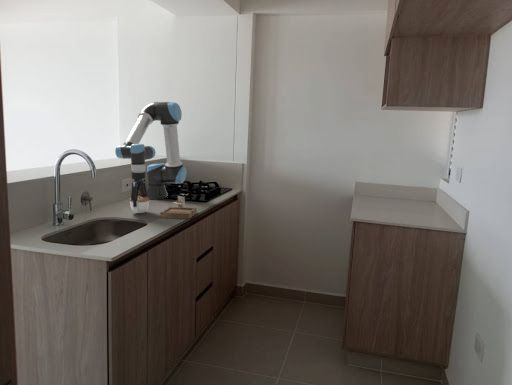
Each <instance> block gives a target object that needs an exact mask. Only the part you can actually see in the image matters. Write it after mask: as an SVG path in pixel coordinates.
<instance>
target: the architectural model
mask: <svg viewBox="0 0 512 385" xmlns="http://www.w3.org/2000/svg"><path fill="white" fill-rule="evenodd" d="M185 201H186V199H185V196H180V195H178V196H177V199H176V200H175V201H172V204H177V207H182V208H186V206H185V205H186V204H185V203H186V202H185Z"/></svg>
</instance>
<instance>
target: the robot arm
mask: <svg viewBox="0 0 512 385" xmlns="http://www.w3.org/2000/svg"><path fill="white" fill-rule="evenodd" d="M182 116H183V115H182V109H181V106H180V105H179V104H178V103H177V102H173V101H154V102H151V103H149V104H146V106H144V107H143V109H141V110H140V111H139V113H138V114H137V121H135V124H134V125H133V127H132V129H131V130H130V132H129V134H128V136H127V137H126V139H125V141H124V143H123V144H121V145H118V146H116V147H115V155H116V158H118V159H123V160H125V159H127V160H130V162H131V163H130V169H131V171H132V172H131V179H132V180H134V182H131V193H130V198H131V201H133V210H132V212H133V213H135V212H136V214H139V213H138V201H137V199H138V196H139V193H140V197H148V198H149V200H162V199H163V200H165V199H167V198H168V197H169V195H168V194H169V193H168V191H167V189H166V184H176V185H177V184H183V183H184V182H185V180H186V177H187V174H188V172H187V167H186V166H184V165H183V163H184V162H183V161H181V156H180V147H179V146H180V145H179V134H178V125H179V123H180V121H181V120H182ZM155 121H160V122H159V123H160V125H161V126H162V127H163V135H164V136H163V137H164V144H165V155H166V163H153V164H149V165H147V168H146V160H152V159H153V158H155V156H156V154H157V153H156V150H155V147H153V146H151V145H146V146H145V144H143V143H140V142H141V140H142V138H143V137H144V135H145V133H146V131H147V129H148V128H149V126H150V125H152V124H153V123H154V122H155ZM146 178H147V180H146ZM146 181H147V182H146ZM146 183H147V184H146ZM167 196H168V197H167ZM166 197H167V198H166ZM164 198H165V199H164Z"/></svg>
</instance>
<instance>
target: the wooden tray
mask: <svg viewBox="0 0 512 385" xmlns="http://www.w3.org/2000/svg"><path fill="white" fill-rule="evenodd" d="M159 214H160V215H159V216H160V218H161V219H177V218H181V219H180V220H189V219H191V218H192V217H193V216H194V215H196V214H197V207H185V208H182V207H178V206H168V207H167V208H166V209H164V210H162V211H161V212H160V213H159Z"/></svg>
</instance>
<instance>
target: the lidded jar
mask: <svg viewBox="0 0 512 385" xmlns="http://www.w3.org/2000/svg"><path fill="white" fill-rule="evenodd" d="M137 201H138V213H136V212H134V213H136V214H143V213H146V211H148V208H149V205H150V199H149V198H148V197H142V196H141V195H138V199H137ZM129 204H130V205H129V206H130V209H131V210H132V211H133V201H131V197H130V198H129Z"/></svg>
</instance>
